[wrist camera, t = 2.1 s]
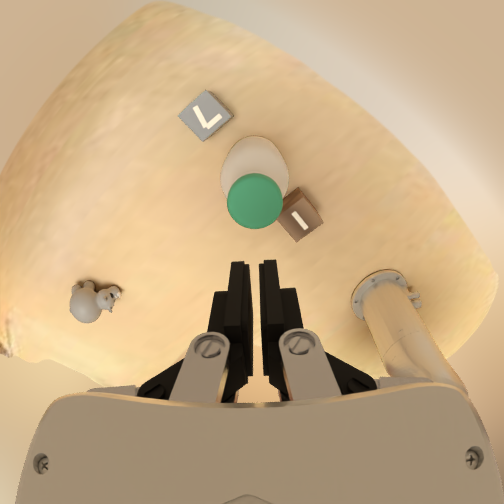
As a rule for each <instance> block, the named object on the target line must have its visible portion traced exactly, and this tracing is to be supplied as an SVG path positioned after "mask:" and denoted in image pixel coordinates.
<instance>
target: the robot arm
mask: <svg viewBox="0 0 504 504" xmlns="http://www.w3.org/2000/svg"><path fill="white" fill-rule="evenodd" d="M259 280H260V316H261V338H262V355H263V372H264V376H269V383H270V384H271V385H273V386H274V387H275V388H277V389H278V393H279V398H280V402H268V403H267V402H266V403H237V400H238V390H239V389H240V388H242V387H243V386H244V385H245V384H247V383H248V376H253V307H252V294H251V281H250V269H249V264H244V261H239V262H231V270H230V277H229V285H228V291H216V292H215V293H214V298H213V303H212V308H211V314H210V319H209V325H208V330H207V332H206V333H202V334H200V335H198V336H197V337H195V338H194V339H193V340H192V342H191V344H190V346H189V348H188V351H187V353H186V356H185V358H184V359H182V360H181V361H179V362H177V363H176V364H174V365H173V366H171V367H169V368H168V369H166V370H165V371H163V372H161V373H160V374H158V375H156V376H155V377H153V378H151V379H150V380H148V381H147V382H145V383H144V384H143V385H142V386H141V387H136V386H135V385H131V386H120V387H107V388H94V389H90V390H88V391H87V392H79V393H73V394H68V395H65V396H62V397H59V398H57V399H56V400H54V401H53V402H52V403H51V404H50V406H49V407H48V408H47V410H46V412H45V413H44V415H43V417H42V419H41V421H40V423H39V425H38V427H37V429H36V432H35V434H34V437H33V439H32V442H31V444H30V447H29V450H28V454H27V457H26V460H25V463H24V467H23V470H22V474H21V478H20V482H19V486H18V491H17V496H16V502H15V504H504V494H503V489H502V483H501V478H500V474H499V470H498V466H497V462H496V459H495V456H494V452H493V449H492V446H491V443H490V440H489V437H488V435H487V432H486V430H485V427H484V425H483V423H482V420H481V418H480V416H479V414H478V412H477V410H476V408H475V407H474V405H473V403H472V402H471V400H470V399H469V397H468V392H467V389H466V387H465V385H464V383H463V382H462V380H461V379H460V378H459V376H458V375H457V373H456V372H455V371H454V370H453V368H452V367H451V366H450V364H449V363H448V362H447V360H446V359H445V357H444V356H443V354H442V352H441V351H440V349H439V348H438V346H437V344H436V343H435V341H434V339H433V337H432V336H431V334H430V332H429V331H428V329H427V327H426V326H425V324H424V322H423V321H422V319H421V317H420V316H419V314H418V313H417V311H416V308H420V307H421V304H422V303H421V300H420V299H416V300H412V301H410V300H411V299H412V298H413V299H415V298H419V297H420V293H419V292H418V291H417V292H412V293H410V292H409V291H408V290H407V283H406V280H405V279H404V277H403V276H402V275H401V274H400V273H398V272H396V271H393V270H383V271H379V272H376V273H374V274H371V275H370V276H368V277H367V278H365V279H364V280H363V281H362V282H361V283H360V284H359V285H358V286H357V288H356V289H355V291H354V293H353V295H352V299H351V306H352V309H353V312H354V314H355V315H356V316H357V317H358V318H359V319H362V320H365V321H366V323H367V325H368V327H369V330H370V332H371V334H372V337H373V339H374V342H375V344H376V347H377V349H378V352H379V354H380V357H381V359H382V362H383V364H384V367H385V369H386V371H387V373H388V374H389V375H390V376H391V377H380V378H379V379H373V378H372V377H370V376H369V375H368V374H366V373H364V372H362V371H360V370H358V369H356V368H354V367H353V366H351V365H349V364H347V363H345V362H343V361H341V360H340V359H338V358H336V357H334V356H332V355H330V354H329V353H327V352H325V351H324V349H323V347H322V345H321V342H320V340H319V338H318V336H317V335H316V334H315V333H313V332H312V331H310V330H307V329H304V328H303V323H302V318H301V313H300V307H299V302H298V297H297V293H296V289H295V288H283V289H280V286H279V278H278V270H277V263H276V260H264V264H259Z"/></svg>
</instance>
